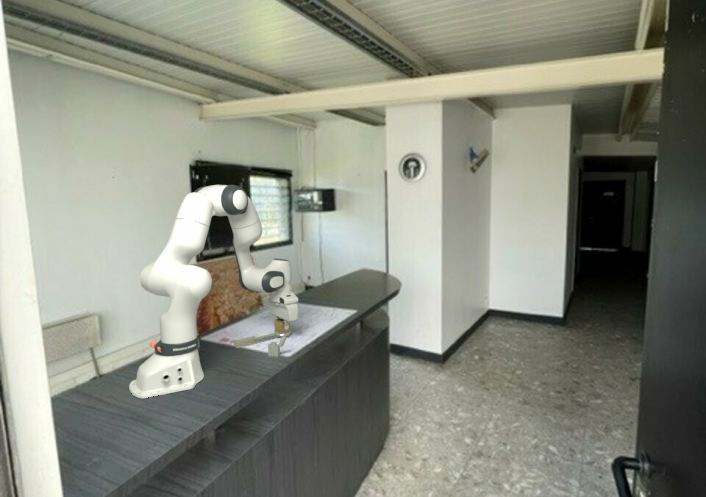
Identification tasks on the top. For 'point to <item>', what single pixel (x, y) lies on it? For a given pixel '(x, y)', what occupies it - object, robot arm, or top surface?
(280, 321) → the socket
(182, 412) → the top surface
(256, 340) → the ratchet
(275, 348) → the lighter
